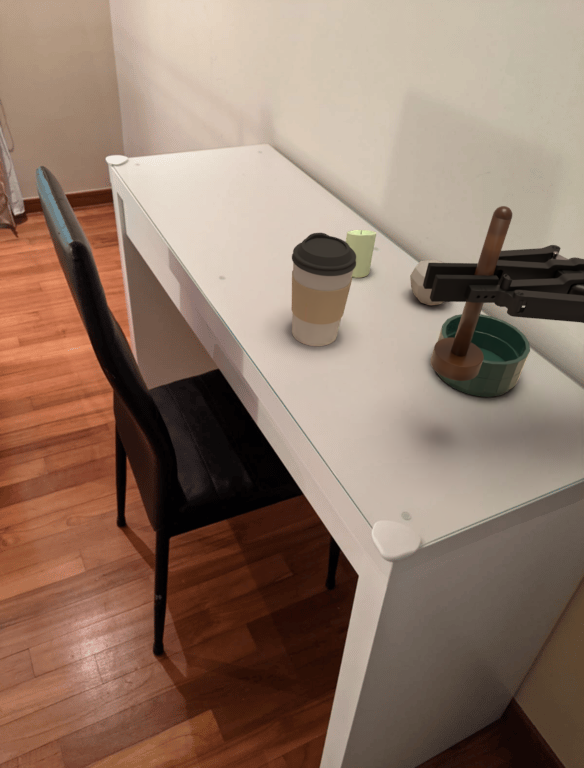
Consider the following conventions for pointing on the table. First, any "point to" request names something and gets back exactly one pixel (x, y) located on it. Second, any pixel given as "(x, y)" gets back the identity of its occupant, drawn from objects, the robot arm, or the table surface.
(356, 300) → the table surface
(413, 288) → the beige faceted lump
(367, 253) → the candle
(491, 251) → the paper towel holder
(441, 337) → the bowl
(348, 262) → the coffee cup
